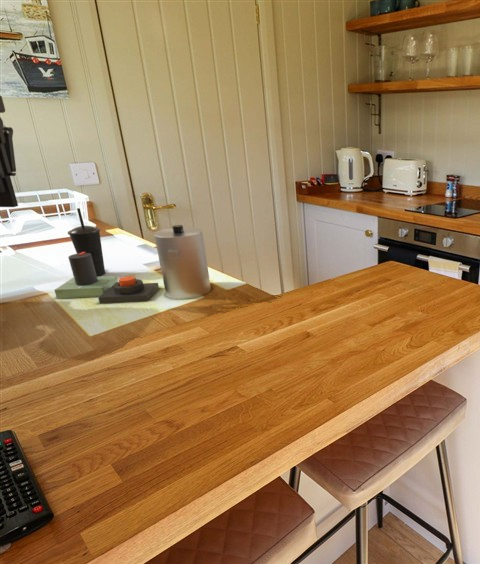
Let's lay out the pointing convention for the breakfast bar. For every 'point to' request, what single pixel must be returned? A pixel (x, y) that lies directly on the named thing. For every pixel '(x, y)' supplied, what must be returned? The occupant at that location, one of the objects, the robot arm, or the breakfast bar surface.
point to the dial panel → (85, 288)
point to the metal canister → (183, 262)
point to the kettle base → (129, 292)
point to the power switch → (127, 281)
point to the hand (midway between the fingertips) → (9, 206)
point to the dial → (83, 268)
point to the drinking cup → (88, 243)
